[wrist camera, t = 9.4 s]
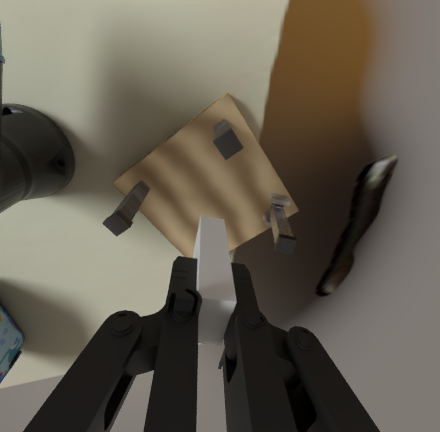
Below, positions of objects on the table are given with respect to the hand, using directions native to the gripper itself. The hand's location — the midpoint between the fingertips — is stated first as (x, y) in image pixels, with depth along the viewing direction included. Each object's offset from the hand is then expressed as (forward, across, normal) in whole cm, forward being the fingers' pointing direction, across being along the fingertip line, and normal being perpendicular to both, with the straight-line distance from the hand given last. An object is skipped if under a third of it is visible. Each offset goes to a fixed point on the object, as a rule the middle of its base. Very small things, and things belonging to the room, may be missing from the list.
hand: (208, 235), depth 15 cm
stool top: (+29, +2, -9) cm, 31 cm away
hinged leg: (+20, +12, -8) cm, 25 cm away
